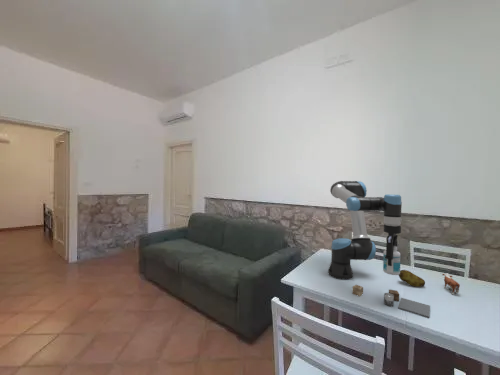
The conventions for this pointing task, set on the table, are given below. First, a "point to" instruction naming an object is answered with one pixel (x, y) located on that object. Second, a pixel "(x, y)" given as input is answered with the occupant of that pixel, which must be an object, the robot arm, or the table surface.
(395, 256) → the pill bottle
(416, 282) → the potato
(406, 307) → the coaster
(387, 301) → the grey egg shape
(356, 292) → the beech cube
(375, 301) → the table surface
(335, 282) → the table surface
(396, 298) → the walnut cube
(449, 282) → the bull figurine
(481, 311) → the table surface
